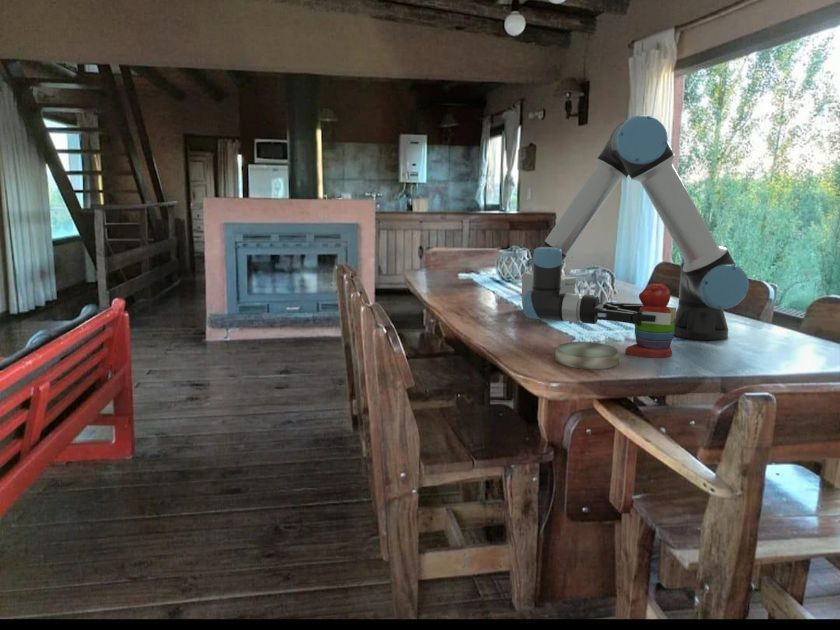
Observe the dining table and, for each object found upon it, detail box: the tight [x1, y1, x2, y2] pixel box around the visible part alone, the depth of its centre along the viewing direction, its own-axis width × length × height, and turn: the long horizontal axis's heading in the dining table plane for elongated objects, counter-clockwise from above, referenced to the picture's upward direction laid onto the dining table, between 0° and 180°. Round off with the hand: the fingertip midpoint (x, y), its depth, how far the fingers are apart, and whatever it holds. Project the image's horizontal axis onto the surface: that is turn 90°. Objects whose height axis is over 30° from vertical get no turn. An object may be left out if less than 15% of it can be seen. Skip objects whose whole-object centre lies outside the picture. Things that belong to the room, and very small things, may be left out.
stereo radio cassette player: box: [521, 255, 578, 308], centre depth 213 cm, size 21×8×20 cm, turn 24°
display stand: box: [554, 341, 620, 370], centre depth 155 cm, size 15×15×3 cm
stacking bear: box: [624, 282, 675, 359], centre depth 161 cm, size 11×10×18 cm
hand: (673, 315), depth 158 cm, fingers closed on stacking bear, 9 cm apart
